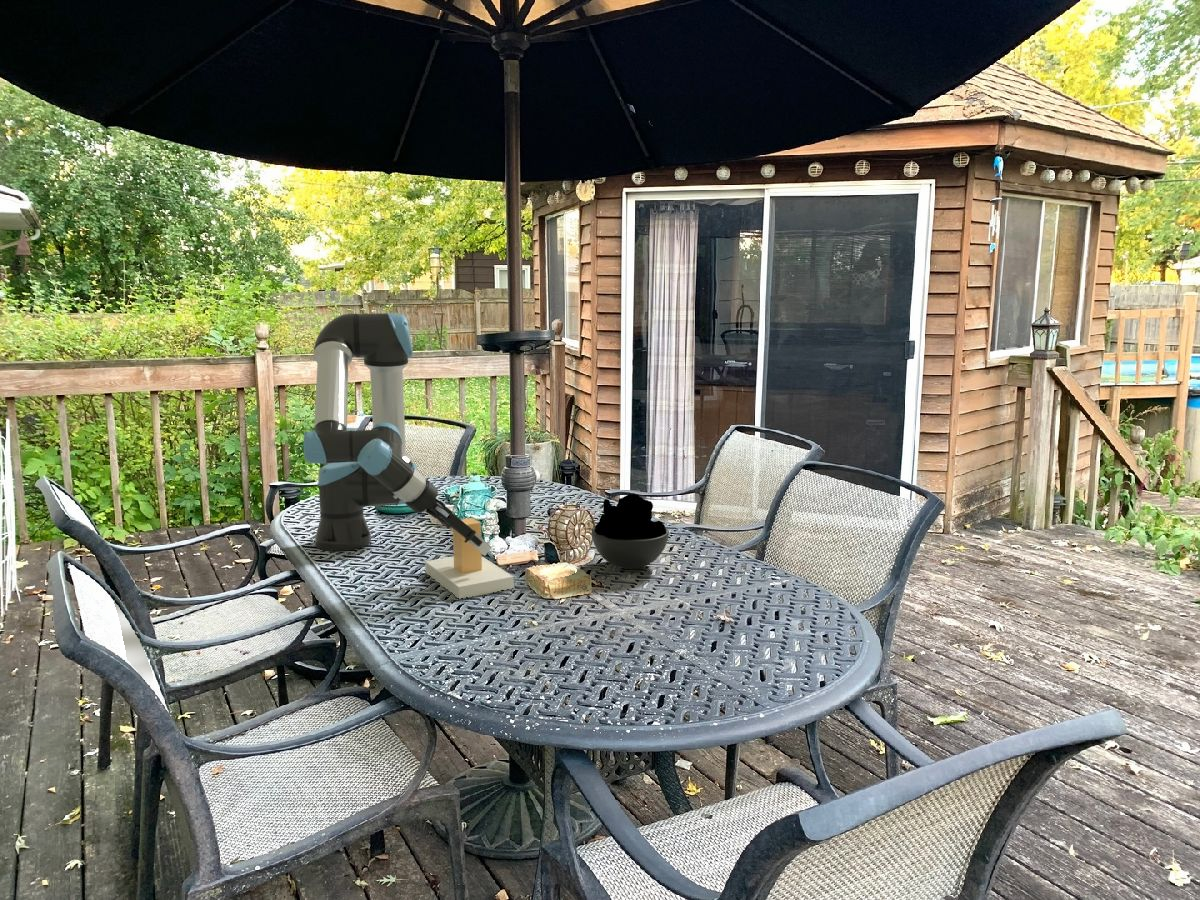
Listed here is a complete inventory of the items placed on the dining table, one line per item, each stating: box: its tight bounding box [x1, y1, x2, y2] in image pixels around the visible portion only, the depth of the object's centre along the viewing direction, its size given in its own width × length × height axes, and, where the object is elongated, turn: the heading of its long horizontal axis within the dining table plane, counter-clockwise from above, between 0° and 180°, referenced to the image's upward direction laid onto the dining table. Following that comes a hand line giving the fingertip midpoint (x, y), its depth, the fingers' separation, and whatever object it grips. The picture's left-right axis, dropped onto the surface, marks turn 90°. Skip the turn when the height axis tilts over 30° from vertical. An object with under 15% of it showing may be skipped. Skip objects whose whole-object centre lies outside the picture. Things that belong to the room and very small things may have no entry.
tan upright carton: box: [452, 517, 483, 573], centre depth 202 cm, size 5×5×12 cm
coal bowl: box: [591, 493, 670, 570], centre depth 213 cm, size 20×20×19 cm
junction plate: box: [424, 556, 515, 600], centre depth 203 cm, size 22×14×8 cm, turn 32°
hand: (479, 545), depth 204 cm, fingers open, 9 cm apart
